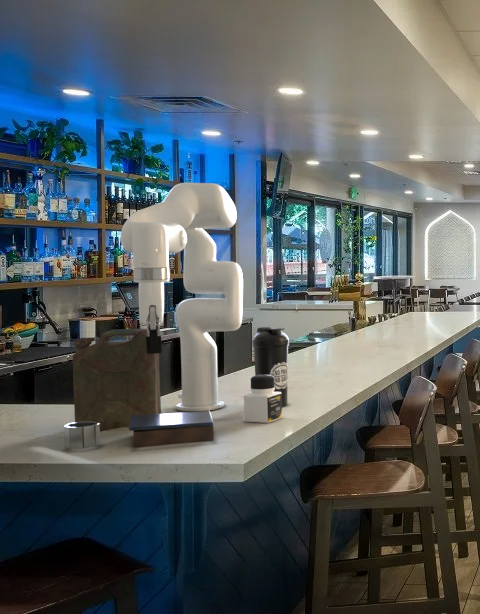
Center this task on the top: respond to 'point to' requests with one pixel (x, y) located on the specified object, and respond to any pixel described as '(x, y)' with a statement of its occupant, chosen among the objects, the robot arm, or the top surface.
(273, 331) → the water bottle
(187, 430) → the brown tray
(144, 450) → the top surface
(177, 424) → the lid
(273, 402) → the medicine bottle
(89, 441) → the grey octagonal hollow piece
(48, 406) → the top surface
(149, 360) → the canister
